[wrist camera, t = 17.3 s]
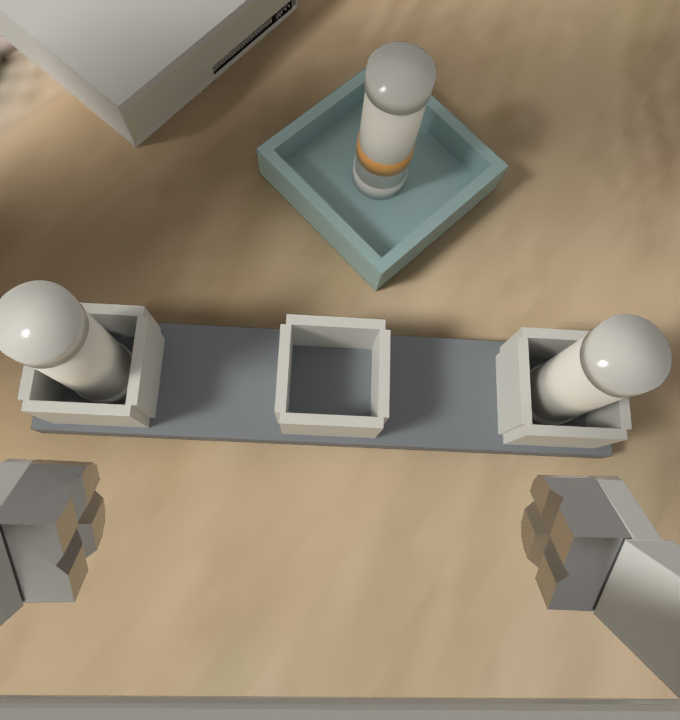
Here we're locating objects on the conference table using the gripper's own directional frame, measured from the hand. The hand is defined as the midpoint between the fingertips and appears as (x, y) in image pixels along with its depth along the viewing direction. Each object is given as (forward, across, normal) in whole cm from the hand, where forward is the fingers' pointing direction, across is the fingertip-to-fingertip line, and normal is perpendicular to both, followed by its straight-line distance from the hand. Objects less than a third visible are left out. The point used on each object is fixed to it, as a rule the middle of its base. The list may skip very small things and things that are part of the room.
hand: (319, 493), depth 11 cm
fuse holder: (+23, -1, +13) cm, 26 cm away
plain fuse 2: (+22, -15, +12) cm, 29 cm away
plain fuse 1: (+22, +12, +12) cm, 28 cm away
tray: (+34, -4, +2) cm, 35 cm away
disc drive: (+46, +16, -8) cm, 49 cm away
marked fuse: (+34, -4, +1) cm, 34 cm away
